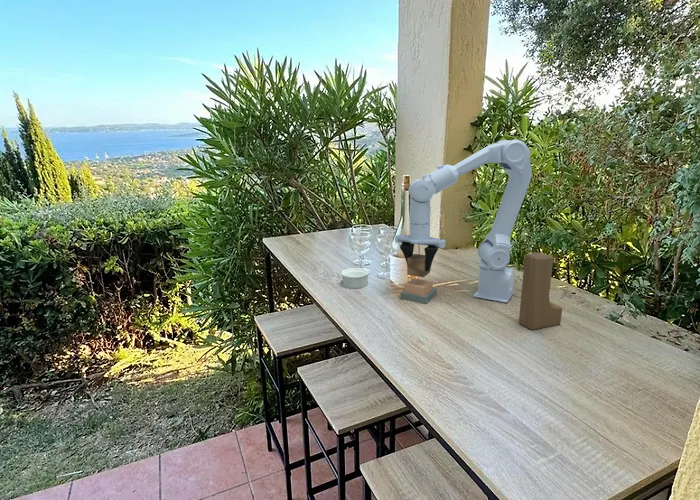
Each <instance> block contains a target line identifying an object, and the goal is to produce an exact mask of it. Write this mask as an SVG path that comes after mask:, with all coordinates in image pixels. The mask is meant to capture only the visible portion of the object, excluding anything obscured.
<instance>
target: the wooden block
mask: <svg viewBox="0 0 700 500" xmlns="http://www.w3.org/2000/svg"><path fill="white" fill-rule="evenodd" d="M553 264H554V256H553V255H549V254H546V253H542V252H531V253H526V254H525V255H524V262H523V273H522V274H523V275H522V284H521V293H520V305H519V306H520V307H519V316H518V323H519V324H520V325H522V326H524V327H525V328H527V329H529V330H531V331H533V330H538V329H543V328H547V327H553V326H557V325H561V321H562V316H563V315H562V314H563V307H561V306H559V305H557V304H555V303H553V302H551V301H550V292H551V284H552V283H551V282H552V273H553V266H554V265H553Z"/></svg>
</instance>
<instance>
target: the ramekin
mask: <svg viewBox="0 0 700 500" xmlns="http://www.w3.org/2000/svg"><path fill="white" fill-rule="evenodd" d="M369 274H370V273H369V270H368V269H365V268H363V267H362V268H361V267H351V268H350V267H349V268H346V269H343V270H342V271H341V279H342V285H343V286H344V287H345V288H348V289H355V290H356V289H361V288H365V287H367V285H368V281H369Z"/></svg>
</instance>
